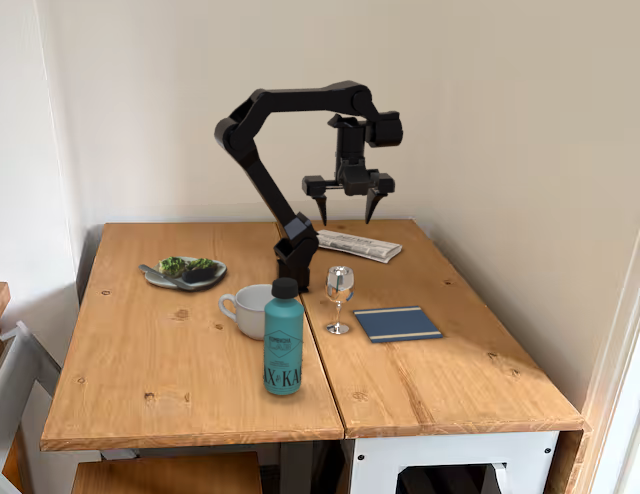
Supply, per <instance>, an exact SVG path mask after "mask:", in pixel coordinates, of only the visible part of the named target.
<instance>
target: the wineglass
mask: <svg viewBox="0 0 640 494" xmlns="http://www.w3.org/2000/svg"><path fill="white" fill-rule="evenodd" d="M355 291H356V277H355V272H354V269H353V268H352V267H349V266H344V265H335V266H331V267H330V268H328V270H327V274H326V276H325V282H324V293H325V296H326V298H327V299H328V300H329V301H331V302H332V303H335V304H336V306H335V309H336V322H333V323H329V324H328V325H326V327H325V329H326V331H328V332H329V333H331V334H337V335H341V334H345V333H348V332H349V330H350V328H349V326H348V325H346V324H345V323H341V322H340V315H341V311H342V304H345V303H347V302H350V301H351V300H352V299H353V298H354V295H355Z"/></svg>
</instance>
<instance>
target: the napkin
mask: <svg viewBox="0 0 640 494" xmlns="http://www.w3.org/2000/svg"><path fill="white" fill-rule="evenodd" d="M352 313H353V315H354V317H355V318H356V319H357V321H358V323H359V324H360V326H361V327H362V329H363V331H364V332H365V334H366V335H367V337H368V339H369V340H370V341H371V344H380V343H389V342H390V343H391V342H404V341H417V340H429V339H442V338H444V336H443V334H442V333H441V332H440V330H439V329H438V328H437V327H436V326H435V324H434V323H433V322H432V321H431V320H430V318H429V317H428V316H427V315H426V313H424V311H423V310H422V308H421V307H420V306H419V305H408V306H394V307H393V306H392V307H380V308H367V309H366V308H365V309H353V310H352Z"/></svg>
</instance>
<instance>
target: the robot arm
mask: <svg viewBox="0 0 640 494" xmlns="http://www.w3.org/2000/svg"><path fill="white" fill-rule="evenodd" d="M323 111H324V112H331V113H334V115H333V117H331V118H329V120H328V121H327V122H326V125H327V126H329V127H331V128H333V129H336V147H335V152H334V158H335V165H334V166H335V167H334V172H333V177H334V179H325V178H324V177H323V176H322V175H321V174H319V175H318V174H317V175H304V177H302V179H301V190H302V191H303V194H305V196H306V197H310V198H311V199H312V200H314V201H315V202H316V205H317V208H318V211H319V214H320V218H321V221H322V224H323V227H327V225H328V215H327V214H328V212H327V200H328V197H327V195H326V194H325V193H326V192H327V191H328V190H343V193H344V195H346V196H347V197H354V196H362V197H364V196H365V197H366V201H365V202H366V203H365V212H364V224H365V225H369V224H370V222H371V219H372V217H373V215H374V212H375V210H376V208H377V206H378V204H379V203H380V201H381V200H382V199H383V198H387V197H388V196H389V194H394V193H395V192H396V180H395V179H394V178H393V177H392V176H391V175H390V174H389V173H387V172H380V170H379V168H368V169H367V166H366V156H365V148H366V144H368V147H370V148H371V149H377V148H379V149H380V148H392V147H399V146H400V145H401V144H402V142H403V138H404V130H403V124H402V123H403V122H402V120H401V118H400V116H401V115H400V112H399V111H397V110H389V111H382V112H381V111H380V112H379V110H378V108H377V107H376V106H375V104H374V101H373V94H372V91H371V89H370V88H369V87H368V85H365V84H362V83H359V82H357V81H355V80H350V79H347V80H343V81H339V82H335V83H331V84H328V85H326V86H322V87H314V88H311V87H309V88H306V87H305V88H278V89H277V88H275V89H265V88H261V87H259V88H257V89H255V90H254V91H252V93H251V94H250V95H249V96H248V97H247V99H245V100H244V101H243V102H242V103H241V104H239V105H238V106H237V107H236V108H234V110H232V111H231V113H230V114H229V115H228V116H227V117H224V118H222V119H221V120H219V121H218V122H217V123H216V125H215V128H214V132H213V137H214V140H215V141H216V143H217V144H218V145H219V146H220V148H222V150H223V151H224V152H225V153H226V154H227V155H228V156H229V157H230V158H231V159H232V160H233V161H234V162H235V163H236V164H237V165H238V166H240V168H241V169H242V171H243V173H244V174H245V176H246V177H247V178H248V179H249V181H250V183H251V184H252V186H253V187H254V189H255V190H256V192H257V193H258V195H259V196H260V198H261V199H262V201H263V202H264V204H265V205H266V207H267V208H268V210H269V211H270V213H271V214H272V215H273V217H274V219H275V220H276V222H277V226H278V230H279V232H280V235H281V238H280V239H279V240H278V241H277V243H276V244H274V246H273V247H272V249H273V252H274V254H275V256H276V257H277V258H276V272H275V273H276V277H275V279H278V278H292V279H294V280H296V281H297V283H298V294H305V293H306V294H307V293H309V292H310V290H309V288H308V287H310V281H311V280H310V279H311V268H310V265H311V262H312V259H313V257H314V255H316V253H317V251H318V250H319V247H320V246H319V239H318V237H317V235H319V233H318V231H317V230H316V229H315V228H314V225H313V223H312V221H311V219H310V218H308V217H307V215H305V214H304V213H303V212H302V211H301V210H300V211H298V212H297V213H295V212H294V210H293V208H292V207H291V205H290V204H289V202H288V200H287V199H286V197H285V196H284V194H283V193H282V191H281V190H280V188H279V186H278V185H277V183H276V181H275V180H274V179H273V177H272V176H271V173H270V172H269V171H268V169H267V167H266V166H265V164H264V163H263V161H262V160H261V157H260V153H259V150H258V146H257V144H256V141H255V139H254V138H255V137H256V136H257V135H258V134H259V133H260V131H261V130H262V128H263V126H264V124H265V122H266V120H267V119H268V117H269V116H270V115H271V114H273V113H297V112H298V113H299V112H323ZM342 115H346V116H342ZM357 117H361V118H362V119H365V120H359V119H358V118H357Z"/></svg>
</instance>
